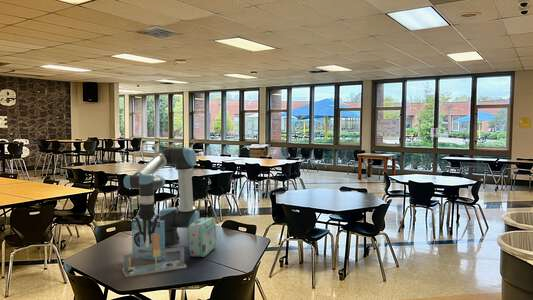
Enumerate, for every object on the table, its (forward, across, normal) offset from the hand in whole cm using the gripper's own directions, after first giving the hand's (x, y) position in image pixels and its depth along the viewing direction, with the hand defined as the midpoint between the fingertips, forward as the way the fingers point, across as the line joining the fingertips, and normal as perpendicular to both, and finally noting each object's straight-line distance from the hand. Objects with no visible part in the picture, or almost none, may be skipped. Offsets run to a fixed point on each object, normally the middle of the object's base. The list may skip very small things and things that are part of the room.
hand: (147, 246), depth 216 cm
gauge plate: (+13, +4, 0) cm, 13 cm away
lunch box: (+13, +37, +16) cm, 42 cm away
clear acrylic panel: (+12, +4, 0) cm, 12 cm away
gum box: (+13, +5, +21) cm, 25 cm away
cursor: (+11, +5, 0) cm, 12 cm away
